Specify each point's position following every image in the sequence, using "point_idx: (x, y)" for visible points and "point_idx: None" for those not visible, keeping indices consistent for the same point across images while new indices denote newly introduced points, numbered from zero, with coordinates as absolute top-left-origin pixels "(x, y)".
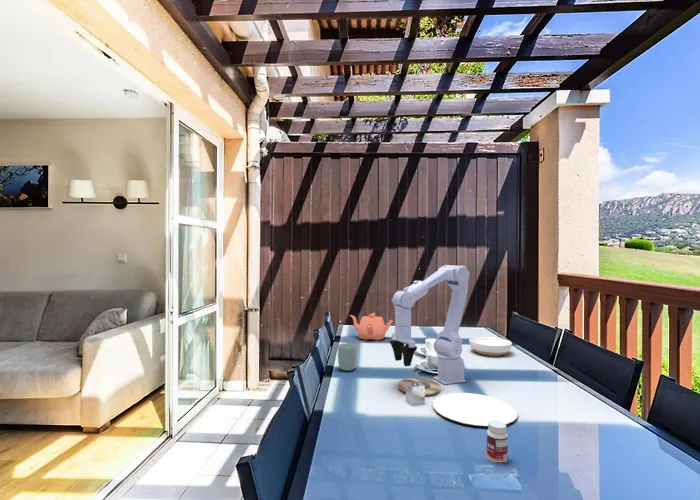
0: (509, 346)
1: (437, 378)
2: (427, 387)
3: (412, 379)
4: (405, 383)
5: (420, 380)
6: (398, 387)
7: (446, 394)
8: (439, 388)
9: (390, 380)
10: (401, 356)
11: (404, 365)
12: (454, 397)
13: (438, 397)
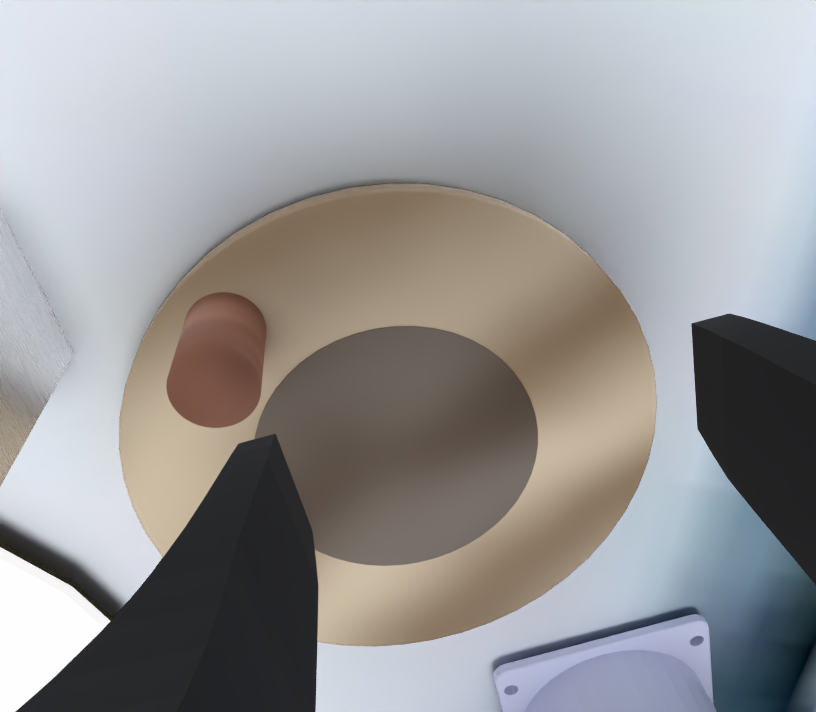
0: None
1: (645, 646)
2: None
3: (611, 417)
4: (474, 306)
5: (556, 495)
6: (389, 185)
7: None
8: None
9: (783, 137)
10: (741, 484)
11: (266, 438)
12: None
13: (17, 571)
